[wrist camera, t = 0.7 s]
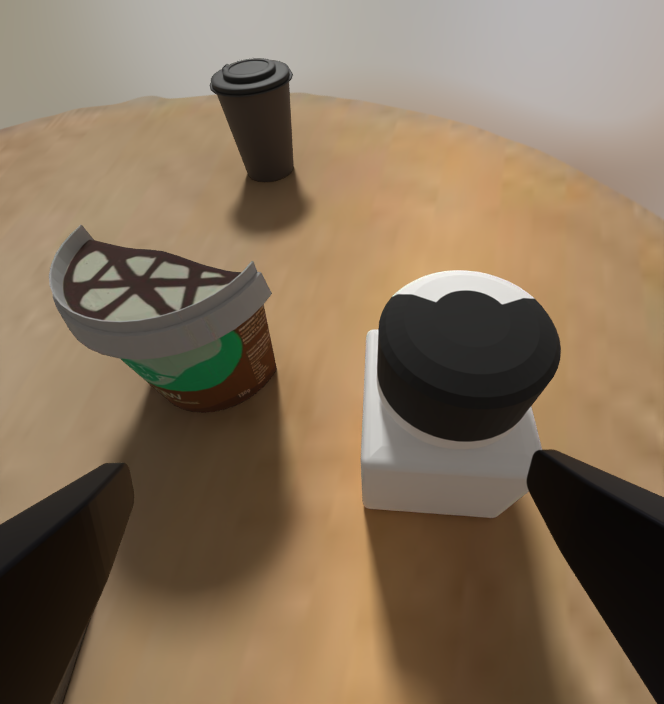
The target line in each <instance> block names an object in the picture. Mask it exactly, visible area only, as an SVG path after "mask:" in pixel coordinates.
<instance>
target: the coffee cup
mask: <svg viewBox="0 0 664 704" xmlns="http://www.w3.org/2000/svg"><path fill="white" fill-rule="evenodd" d="M292 75H293V74H292V72H291V70H290V69H289V67H288V66H287V65H286V64H285V63H283V62H280V61H275V60H269V59H262V58H254V59H246V60H241V61H237V62H235V63H232V64H230V65H228V64H226V65H225V66H224V67H223V68H222V70H219V71H218V72H216V73H215V74H214V75H213V76H212V78H211V83H210V89H211V91H213V92H214V93H215V94H217V96H218V98H219V101H220V103H221V106H222V108H223V111H224V114H225V116H226V119H227V121H228V124H229V126H230V129H231V132H232V134H233V137H234V139H235V142H236V144H237V147H238V150H239V152H240V155H241V157H242V160H243V163H244V165H245V168H246V170H247V173H248V175H249V177H250V178H251V179H253V180H256V181H260V182H271V181H276V180H279V179H282V178H284V177H286V176H287V175H289V174H290V173H291V172H292V170H293V148H292V129H291V110H290V92H289V81H290V80H291V79H292Z"/></svg>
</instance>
